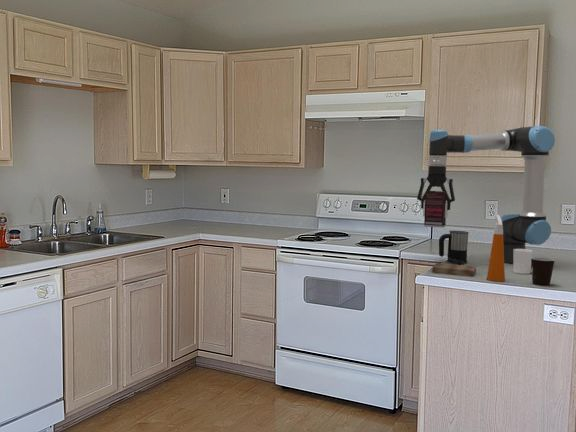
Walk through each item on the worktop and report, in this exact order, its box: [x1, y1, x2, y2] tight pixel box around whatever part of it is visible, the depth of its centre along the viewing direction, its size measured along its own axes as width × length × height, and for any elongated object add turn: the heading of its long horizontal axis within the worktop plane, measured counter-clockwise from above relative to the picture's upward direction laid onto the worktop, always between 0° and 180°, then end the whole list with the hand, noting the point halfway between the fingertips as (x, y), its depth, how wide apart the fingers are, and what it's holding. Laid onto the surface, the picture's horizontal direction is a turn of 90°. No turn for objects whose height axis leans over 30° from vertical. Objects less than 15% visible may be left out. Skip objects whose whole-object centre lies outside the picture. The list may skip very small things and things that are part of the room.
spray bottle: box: [486, 214, 506, 282], centre depth 245 cm, size 7×11×26 cm, turn 171°
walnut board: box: [431, 262, 477, 278], centre depth 259 cm, size 17×12×2 cm
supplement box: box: [423, 190, 447, 229], centre depth 265 cm, size 9×5×16 cm, turn 61°
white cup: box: [512, 248, 534, 275], centre depth 263 cm, size 8×8×10 cm
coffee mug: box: [531, 256, 555, 287], centre depth 239 cm, size 12×9×10 cm
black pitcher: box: [438, 230, 470, 265], centre depth 283 cm, size 14×16×15 cm
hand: (435, 216), depth 265 cm, fingers closed on supplement box, 9 cm apart
